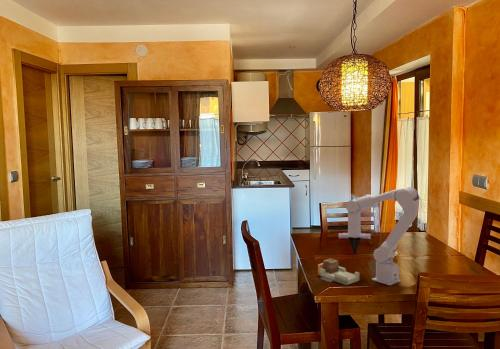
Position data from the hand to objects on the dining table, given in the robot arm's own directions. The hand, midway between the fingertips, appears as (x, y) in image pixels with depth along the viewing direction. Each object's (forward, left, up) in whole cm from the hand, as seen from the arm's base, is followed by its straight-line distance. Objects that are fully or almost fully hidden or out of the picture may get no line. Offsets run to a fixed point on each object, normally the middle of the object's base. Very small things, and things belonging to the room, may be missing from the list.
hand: (354, 253), depth 184 cm
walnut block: (+6, +10, -8) cm, 14 cm away
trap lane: (+1, +10, -10) cm, 14 cm away
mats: (+1, +10, -10) cm, 14 cm away
